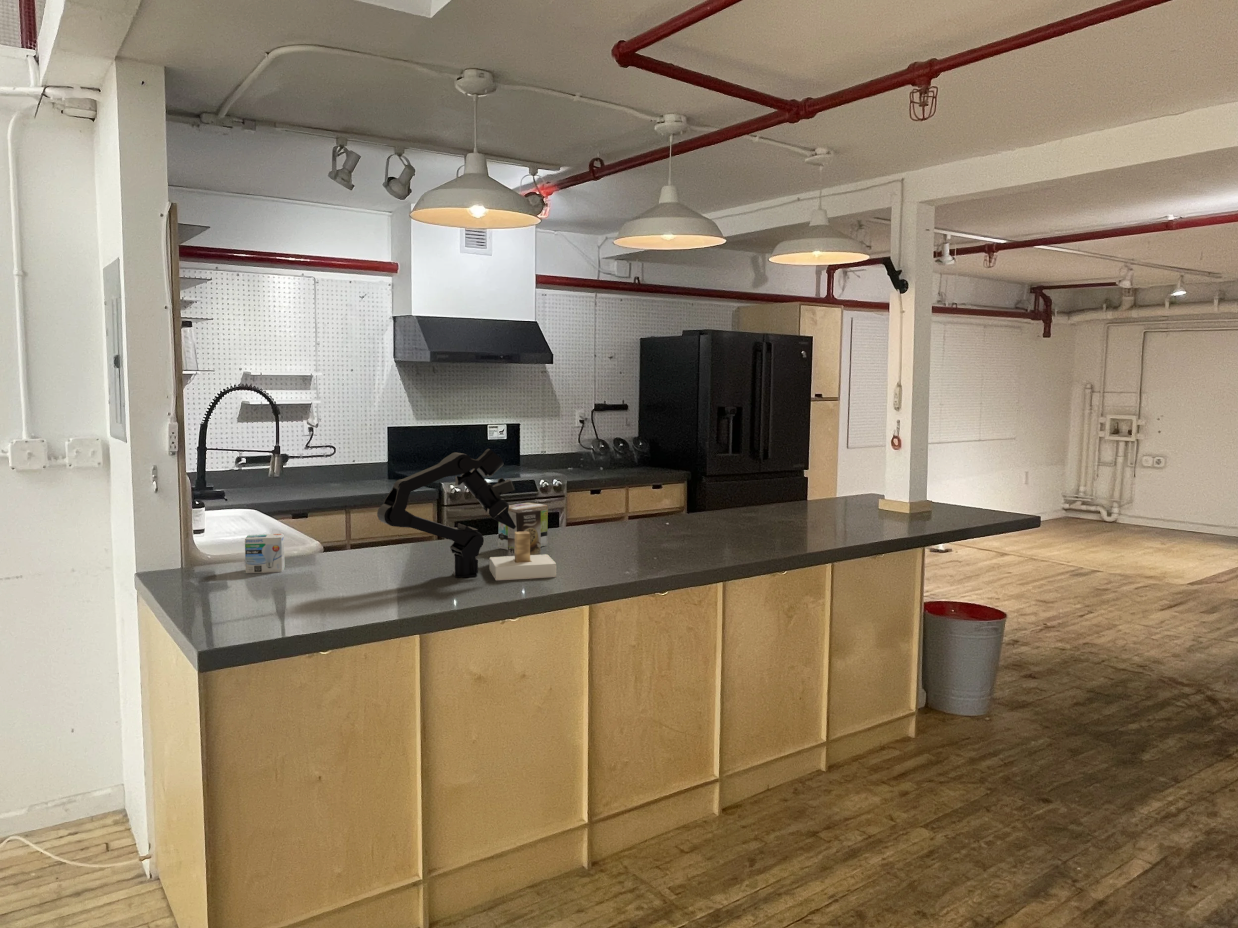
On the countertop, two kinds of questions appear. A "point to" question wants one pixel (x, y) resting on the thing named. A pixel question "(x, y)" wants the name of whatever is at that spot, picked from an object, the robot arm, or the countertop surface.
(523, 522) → the coffee box
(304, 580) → the countertop surface
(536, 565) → the white flat block
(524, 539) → the tan wooden block
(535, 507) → the tea box
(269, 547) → the light bulb box
